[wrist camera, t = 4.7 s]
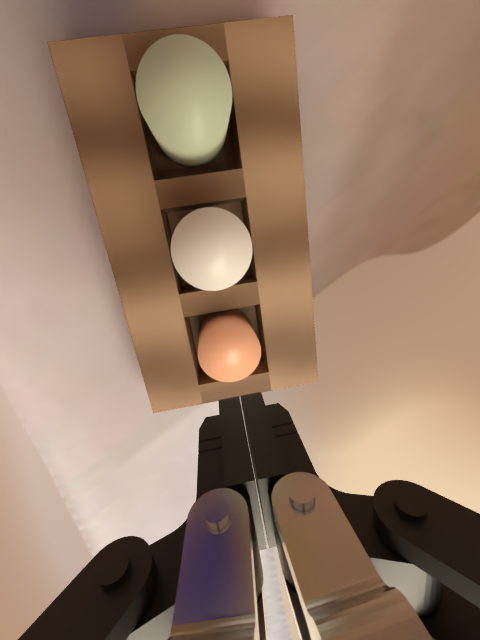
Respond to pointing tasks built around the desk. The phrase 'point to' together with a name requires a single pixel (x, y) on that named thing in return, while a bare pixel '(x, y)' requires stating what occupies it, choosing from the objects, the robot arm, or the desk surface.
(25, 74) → the desk surface
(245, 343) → the terracotta egg
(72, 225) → the desk surface
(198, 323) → the wooden egg rack
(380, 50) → the desk surface
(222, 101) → the pale green piece
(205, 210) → the cream white egg
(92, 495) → the desk surface
